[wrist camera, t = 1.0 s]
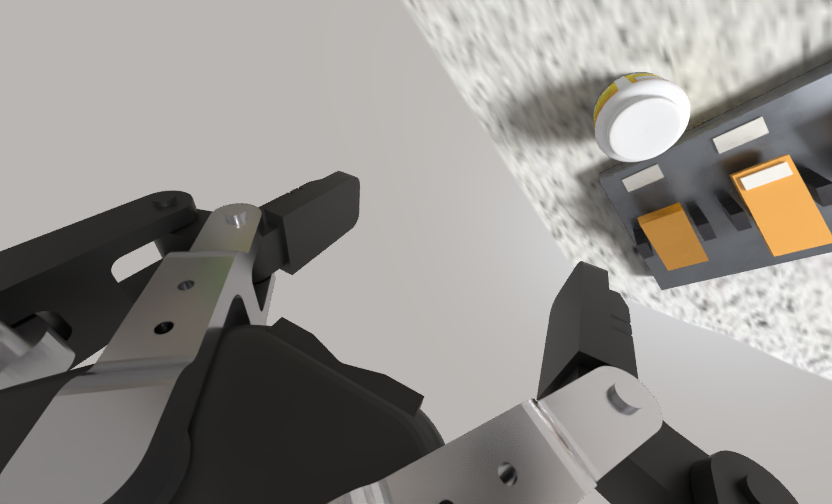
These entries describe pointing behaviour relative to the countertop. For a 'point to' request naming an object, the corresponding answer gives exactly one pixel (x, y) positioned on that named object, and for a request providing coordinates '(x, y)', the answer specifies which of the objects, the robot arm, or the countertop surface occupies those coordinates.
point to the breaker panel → (725, 184)
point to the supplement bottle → (640, 117)
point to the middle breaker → (781, 206)
